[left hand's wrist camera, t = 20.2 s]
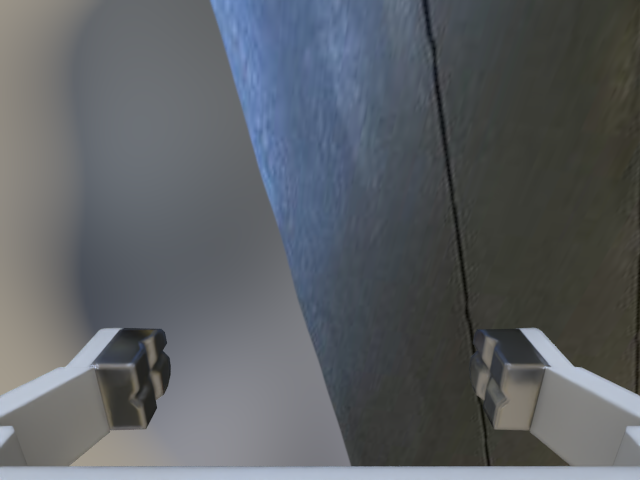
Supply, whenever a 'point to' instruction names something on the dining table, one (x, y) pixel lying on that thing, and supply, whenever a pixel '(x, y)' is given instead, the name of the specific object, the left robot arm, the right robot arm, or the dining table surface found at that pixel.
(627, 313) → the dining table surface
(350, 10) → the dining table surface
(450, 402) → the dining table surface
